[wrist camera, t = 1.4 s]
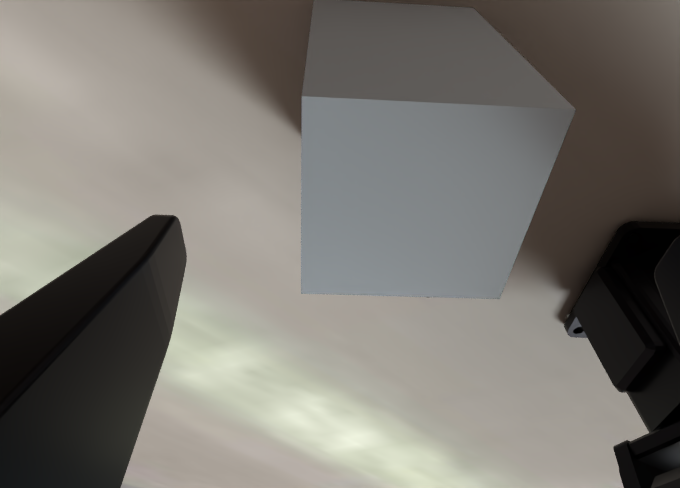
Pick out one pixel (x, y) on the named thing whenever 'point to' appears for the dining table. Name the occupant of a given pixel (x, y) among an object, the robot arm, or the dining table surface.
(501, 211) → the grey rectangular box
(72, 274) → the robot arm
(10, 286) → the dining table surface
